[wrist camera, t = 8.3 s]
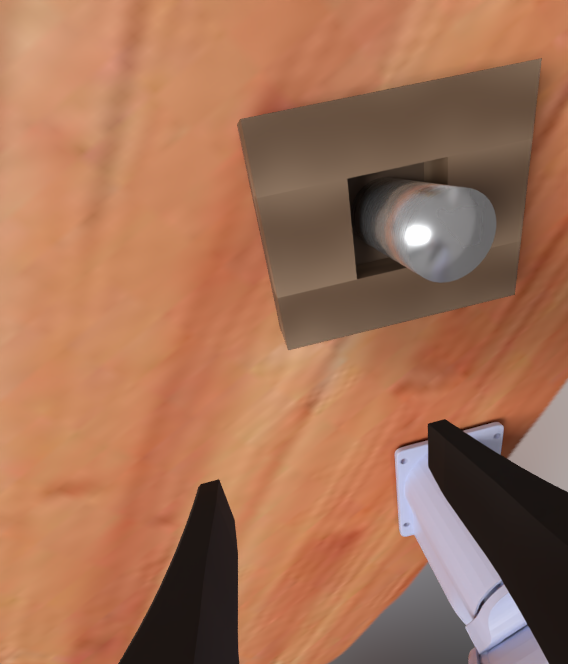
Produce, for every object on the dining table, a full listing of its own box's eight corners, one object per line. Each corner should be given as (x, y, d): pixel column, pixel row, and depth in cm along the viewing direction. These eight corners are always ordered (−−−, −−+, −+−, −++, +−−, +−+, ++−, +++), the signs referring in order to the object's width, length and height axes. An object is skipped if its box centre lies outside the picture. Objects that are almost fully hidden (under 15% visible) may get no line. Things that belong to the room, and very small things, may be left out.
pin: (413, 237, 19) (492, 271, 13) (353, 251, 18) (409, 291, 13) (412, 171, 17) (500, 177, 12) (347, 185, 17) (406, 199, 12)
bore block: (482, 280, 21) (514, 294, 19) (280, 328, 20) (288, 350, 18) (497, 72, 16) (541, 58, 14) (237, 124, 16) (240, 119, 13)
